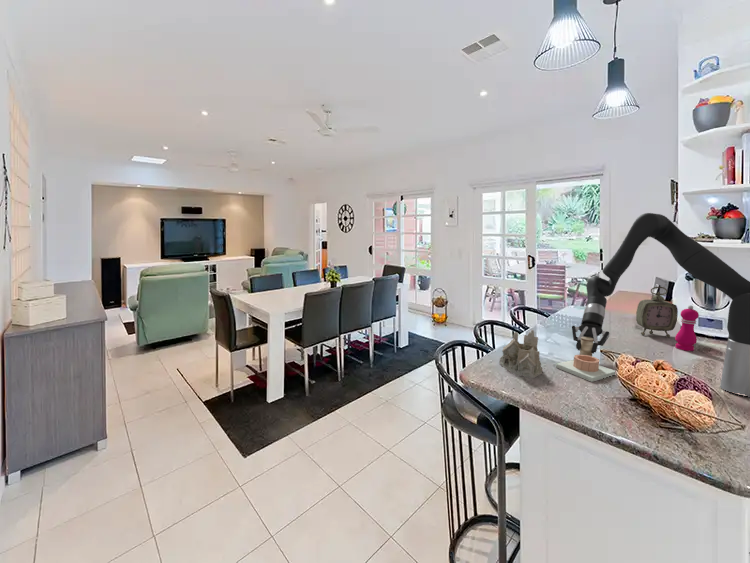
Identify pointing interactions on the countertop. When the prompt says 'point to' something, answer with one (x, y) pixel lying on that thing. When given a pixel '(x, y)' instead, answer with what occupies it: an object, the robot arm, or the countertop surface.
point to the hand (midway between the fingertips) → (585, 350)
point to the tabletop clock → (656, 314)
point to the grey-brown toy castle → (522, 356)
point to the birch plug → (586, 346)
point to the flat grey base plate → (586, 368)
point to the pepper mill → (687, 330)
